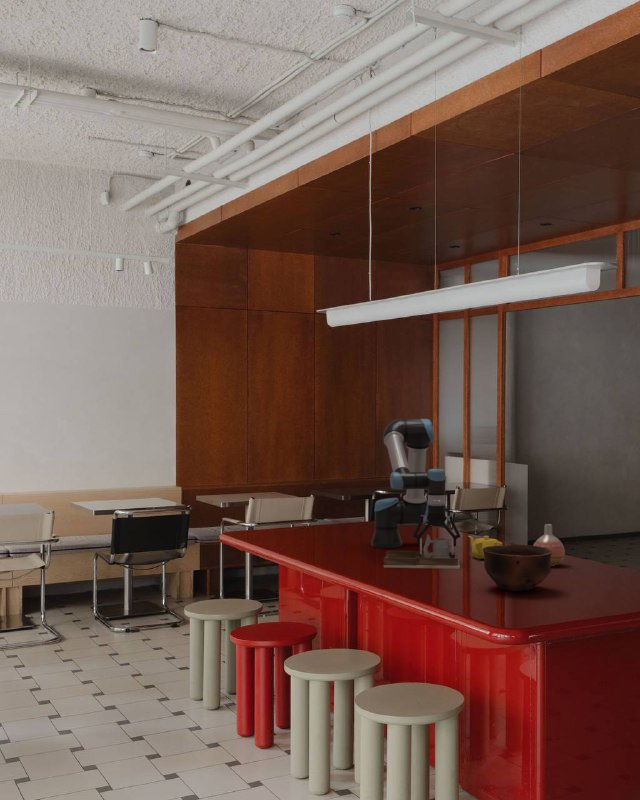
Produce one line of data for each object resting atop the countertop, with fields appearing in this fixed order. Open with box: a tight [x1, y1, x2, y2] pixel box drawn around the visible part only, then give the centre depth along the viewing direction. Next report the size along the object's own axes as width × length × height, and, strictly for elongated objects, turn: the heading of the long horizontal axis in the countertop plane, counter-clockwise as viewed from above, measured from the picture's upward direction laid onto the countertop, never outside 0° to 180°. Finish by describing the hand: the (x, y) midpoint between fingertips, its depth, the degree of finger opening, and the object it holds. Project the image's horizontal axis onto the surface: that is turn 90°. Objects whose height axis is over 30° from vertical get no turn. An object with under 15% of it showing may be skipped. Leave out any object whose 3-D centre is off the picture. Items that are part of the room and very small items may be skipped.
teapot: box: [467, 535, 503, 560], centre depth 406 cm, size 14×13×10 cm
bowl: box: [483, 544, 552, 592], centre depth 335 cm, size 25×25×15 cm
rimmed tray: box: [383, 550, 461, 570], centre depth 392 cm, size 20×32×4 cm, turn 83°
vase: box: [532, 523, 566, 566], centre depth 387 cm, size 14×14×18 cm
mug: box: [422, 534, 450, 558], centre depth 391 cm, size 8×12×12 cm, turn 102°
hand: (436, 553), depth 391 cm, fingers open, 13 cm apart
